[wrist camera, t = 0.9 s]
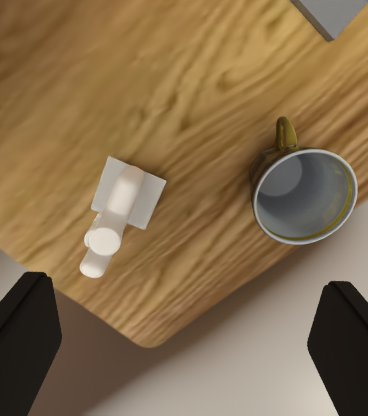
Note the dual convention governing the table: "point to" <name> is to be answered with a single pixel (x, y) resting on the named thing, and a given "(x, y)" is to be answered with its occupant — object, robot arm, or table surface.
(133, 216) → the figurine
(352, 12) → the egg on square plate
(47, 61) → the table surface
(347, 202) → the ceramic cup
